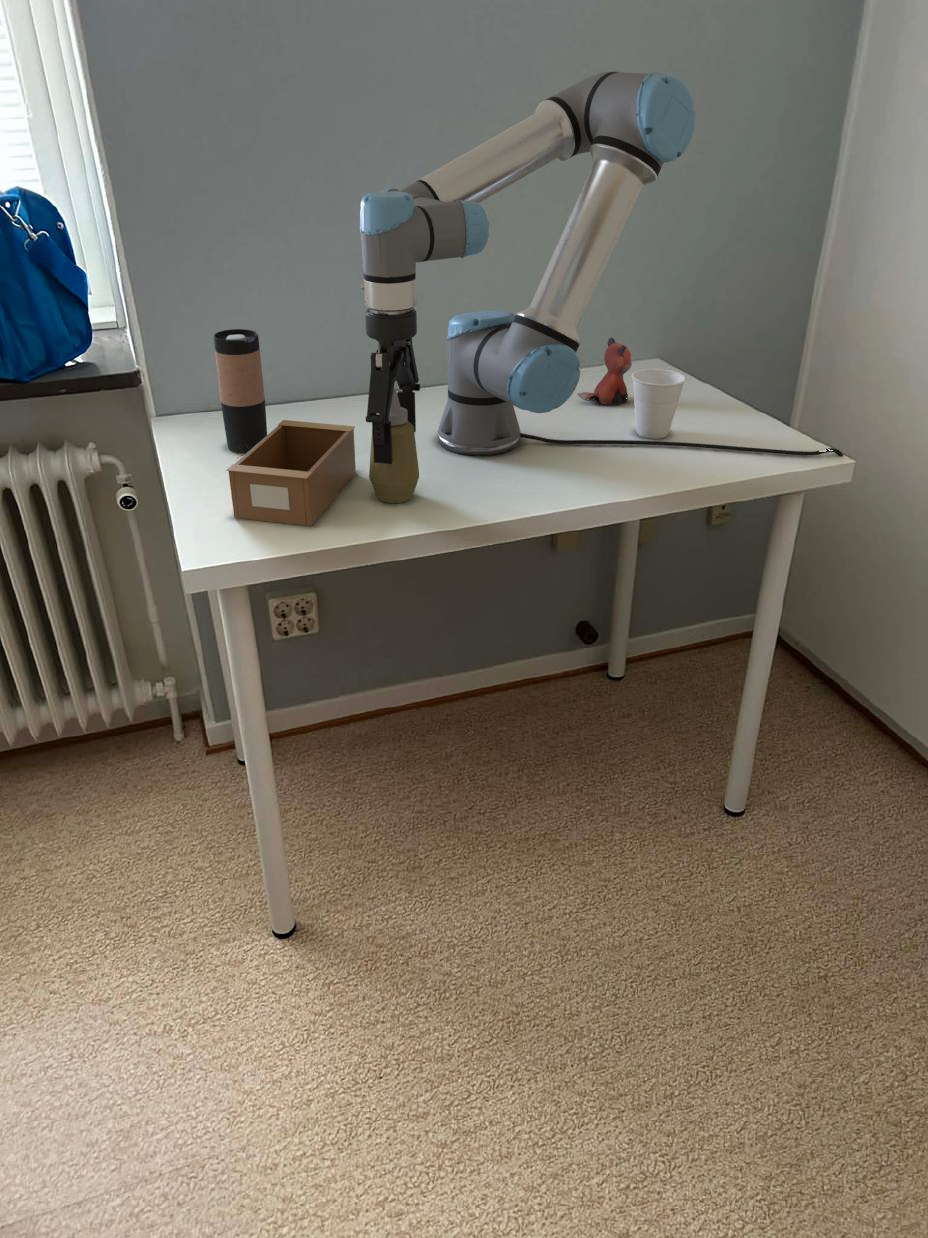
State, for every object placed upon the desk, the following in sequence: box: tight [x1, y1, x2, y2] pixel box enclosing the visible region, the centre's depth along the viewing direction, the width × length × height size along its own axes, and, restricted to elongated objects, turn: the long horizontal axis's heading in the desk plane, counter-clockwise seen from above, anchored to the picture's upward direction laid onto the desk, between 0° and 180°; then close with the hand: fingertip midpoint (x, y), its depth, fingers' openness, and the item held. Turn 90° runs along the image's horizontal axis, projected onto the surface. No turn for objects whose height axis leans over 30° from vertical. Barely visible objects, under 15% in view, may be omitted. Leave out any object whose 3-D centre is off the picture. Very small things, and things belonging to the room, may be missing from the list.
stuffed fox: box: [577, 337, 632, 406], centre depth 195 cm, size 8×11×12 cm
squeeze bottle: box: [368, 386, 420, 504], centre depth 150 cm, size 8×8×18 cm
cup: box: [631, 368, 687, 440], centre depth 179 cm, size 10×10×11 cm
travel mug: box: [213, 328, 268, 454], centre depth 168 cm, size 8×8×20 cm
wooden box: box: [225, 419, 357, 527], centre depth 153 cm, size 13×23×8 cm, turn 167°
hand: (395, 446), depth 151 cm, fingers open, 13 cm apart
